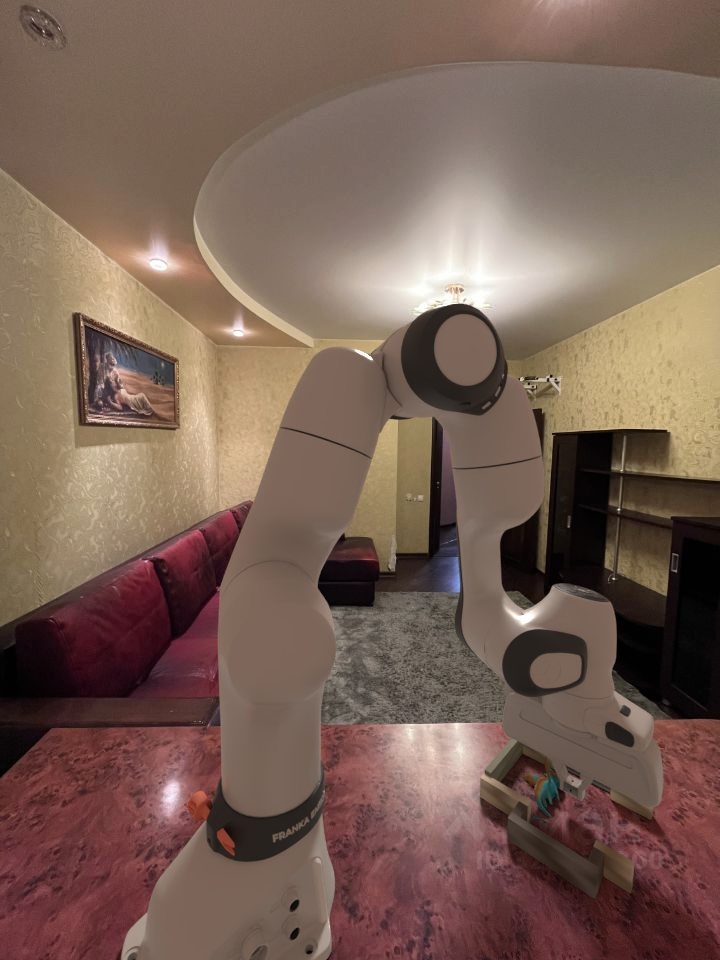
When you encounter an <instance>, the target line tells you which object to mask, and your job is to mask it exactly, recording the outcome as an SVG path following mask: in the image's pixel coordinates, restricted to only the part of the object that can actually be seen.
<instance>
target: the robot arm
mask: <svg viewBox="0 0 720 960" xmlns="http://www.w3.org/2000/svg"><path fill="white" fill-rule="evenodd" d="M508 373H509V365H508V361H507V360H506V357H505V351H504V347H503V343H502V341H501V338H500V335H499V334H498V331H497V330H496V327H495V326H494V325H493V323H492V321H491V320H490V319H489V318H488V316H487V315H486V314H484V313H483V311H481V310H480V309H478V308H477V307H475V306H473V305H470V304H468V303H460V302H459V303H458V302H457V303H456V302H455V303H452V302H451V303H447V304H443V305H439V306H435V307H432V308H430V309H427V310H426V311H424V312H422V313H421V314H419V315H418V316H417V317H416V318H415V319H413V320H412V321H410V322H408V323H407V324H406V325H404V326H402V327H400V328H398V329H396V330H395V331H394V332H393V333H391V334H390V335H389V336H388V337H387V338H386V339H385V340H384V341H383V342H382V343H381V344H380V345H379V346H378V347H376V348H375V349H374V350H373V351H372V352H371V353H365V352H363V351H361V350H359V349H356V348H352V347H349V346H331V347H326V348H324V349H322V350H320V351H319V352H317V353H316V354H315V355H313V357H312V358H311V359H310V361H309V363H308V364H307V366H306V368H305V369H304V371H303V373H302V374H301V376H300V378H299V381H297V383H296V386H295V388H294V390H293V393H292V394H291V397H290V399H289V401H288V403H287V406H286V407H285V410H284V413H283V415H282V418H281V422H280V424H279V427H278V429H277V432H276V436H275V439H274V442H273V444H272V447H271V450H270V452H269V456H268V459H267V462H266V465H265V466H264V471H263V473H262V477H261V479H260V482H259V486H258V489H257V491H256V493H255V497H254V499H253V502H252V505H251V507H250V509H249V511H248V513H247V516H246V519H245V521H244V523H243V526H242V527H241V531H240V534H239V535H238V539H237V541H236V543H235V546H234V548H233V551H232V553H231V555H230V559H229V561H228V564H227V567H226V569H225V571H224V574H223V578H222V581H221V583H220V586H219V587H220V588H219V602H218V603H219V605H218V621H217V622H218V624H217V625H218V626H217V657H218V658H217V661H218V662H217V664H218V687H219V688H218V690H219V691H218V692H219V693H218V694H219V717H220V759H221V761H220V765H221V766H220V768H221V771H220V772H221V775H220V777H219V781H218V783H217V786H216V787H215V792H214V795H213V798H212V799H211V800H212V801H211V800H210V799H209V798H208V797H207V794H206V793H205V792H204V791H203V790H199V791H196V792H195V793H193V794H192V795H191V797H190V798H189V800H188V801H187V805H186V806H187V807H186V808H187V811H188V812H189V813H190V814H191V815H193V819H194V820H195V821H196V822H200V821H203V820H204V822H203V823H202V824H201V825H200V826H199V827H198V829H197V830H196V831H195V832H194V834H193V836H192V837H191V838H190V839H189V840H188V841H187V843H186V845H185V846H184V847H183V848H182V849H181V851H180V852H179V853H178V855H176V857H175V858H174V860H172V862H171V863H170V865H169V866H168V867H167V868H166V869H165V870H164V872H163V873H162V874H161V875H160V877H159V878H158V879H157V881H156V883H155V885H154V887H153V889H152V893H151V896H150V900H149V904H148V907H147V912H146V913H145V914H143V916H142V917H140V918H139V919H138V920H137V921H136V922H135V923H134V924H133V925H132V926H131V927H130V928H129V930H128V931H127V933H126V936H125V937H124V942H123V946H122V950H121V954H120V960H327V959H328V958H329V956H330V955H331V953H332V945H333V944H332V943H333V941H332V931H331V923H330V922H331V920H330V917H331V911H332V907H333V904H334V899H335V890H336V880H335V878H336V877H335V871H334V867H333V864H332V860H331V858H330V855H329V852H328V848H327V847H328V846H327V842H326V836H325V834H326V833H325V828H324V819H323V812H324V807H325V803H326V802H325V801H326V799H325V798H326V791H325V788H326V787H325V784H326V783H325V767H324V764H323V760H322V758H321V757H322V754H321V753H322V749H321V748H322V744H321V743H322V739H321V738H322V735H321V734H322V732H321V731H322V727H321V726H322V725H321V724H322V722H321V721H322V717H321V716H322V705H323V704H322V703H323V697H324V691H325V687H326V681H327V679H328V678H329V676H330V674H331V673H332V669H333V667H334V665H335V662H336V661H335V660H336V657H337V638H336V630H335V625H334V619H333V615H332V611H331V608H330V605H329V603H328V601H327V600H326V599H325V597H324V595H323V594H322V593H321V591H320V589H319V588H318V586H319V585H318V584H319V578H320V575H321V573H322V572H321V571H322V569H323V567H324V565H325V564H326V562H327V560H328V558H329V556H330V554H331V553H332V551H333V549H334V547H335V546H336V544H337V542H338V541H339V539H340V538H341V536H342V535H344V533H346V532H347V530H348V529H349V528H350V526H351V524H352V522H353V519H354V516H355V513H356V510H357V507H358V504H359V502H360V501H359V500H360V498H361V494H362V491H363V489H364V485H365V482H366V479H367V477H368V474H369V473H368V472H369V470H370V467H371V464H372V462H373V457H374V454H375V451H376V448H377V444H378V441H379V437H380V434H381V433H382V432H383V429H384V427H385V425H386V424H387V422H388V421H389V420H393V421H394V420H395V421H396V420H397V421H400V420H401V421H402V420H411V419H414V418H420V419H421V418H422V419H423V418H426V419H427V418H434V419H435V420H436V421H437V422H438V423H439V424H440V426H441V427H442V429H443V431H444V433H445V436H446V438H447V440H448V445H449V454H450V456H449V457H450V463H451V470H452V475H453V476H452V477H453V483H454V491H455V492H454V493H455V499H456V500H455V501H456V512H455V513H456V516H455V518H456V520H455V531H456V547H457V561H458V573H459V595H458V601H457V606H456V609H455V614H454V629H455V634H456V636H457V638H458V640H459V641H460V643H461V644H462V645H463V646H464V647H465V648H466V649H467V650H468V651H470V652H471V653H472V654H474V655H475V656H477V657H478V658H479V659H480V660H481V661H482V662H483V664H485V666H487V667H488V669H490V670H491V671H492V672H493V673H494V674H495V675H496V676H497V677H498V678H499V679H501V680H502V682H503V683H504V685H503V686H504V687H503V692H504V693H503V695H504V697H505V699H506V700H505V702H504V706H503V711H502V718H501V728H502V729H503V732H504V734H505V735H506V736H507V737H509V738H510V739H511V738H512V739H514V740H516V741H518V742H520V743H522V744H524V745H526V746H528V747H530V748H532V749H534V750H536V751H538V752H540V753H542V754H544V755H546V756H548V757H550V758H552V765H553V767H554V769H553V770H555V772H556V774H557V775H558V777H559V779H560V789H559V790H561V791H563V792H564V793H566V794H567V795H570V796H572V797H573V798H576V799H577V800H579V801H581V802H583V800H584V798H585V796H586V789H587V788H589V786H591V785H592V784H591V783H592V781H593V779H594V780H596V781H598V782H600V783H602V784H604V785H606V786H607V787H609V788H611V789H613V790H615V791H617V792H619V793H621V794H623V795H625V796H627V797H629V798H631V799H633V800H635V801H637V802H639V803H641V804H643V805H645V806H647V807H649V808H653V809H654V808H655V807H658V806H660V804H661V800H662V798H663V791H664V769H663V759H662V753H661V749H660V747H659V744H658V742H657V741H656V739H655V738H654V737H653V735H654V731H655V730H654V729H655V719H654V716H652V715H651V714H650V713H649V712H648V711H647V710H645V709H644V708H642V707H640V706H638V705H637V704H636V703H633V702H632V701H630V700H629V699H628V698H626V697H625V696H623V695H622V694H620V693H619V692H617V691H616V690H615V683H614V679H613V673H612V671H613V667H614V665H615V663H616V659H617V645H618V644H617V640H618V638H617V635H618V633H617V620H616V619H617V618H616V615H615V614H616V613H615V610H614V607H613V604H612V602H611V601H610V600H609V599H608V598H607V597H606V596H604V595H603V594H600V593H598V592H596V591H594V590H592V589H589V588H586V587H583V586H580V585H575V584H571V583H555V584H553V585H552V586H551V589H550V591H549V592H548V594H547V595H546V596H545V597H544V598H543V599H541V601H539V602H538V603H536V604H535V605H533V606H531V607H528V608H527V609H524V608H522V607H521V606H519V605H517V604H516V603H515V602H514V601H513V600H512V599H511V598H510V596H508V594H507V593H506V591H505V589H504V587H503V584H502V567H501V566H502V564H501V539H502V537H503V534H504V533H505V532H506V531H507V530H510V529H512V528H513V529H514V528H515V527H518V526H520V525H522V524H524V523H526V522H527V521H528V520H529V519H531V517H532V516H534V514H535V513H536V512H538V510H539V509H540V507H541V505H542V504H543V502H544V496H545V491H546V490H545V488H546V487H545V486H546V478H545V477H546V475H545V467H544V459H543V453H542V446H541V439H540V436H539V435H540V434H539V430H538V429H539V428H538V425H537V421H536V417H535V414H534V411H533V407H532V405H531V404H532V403H531V401H530V398H529V396H528V393H527V391H526V390H527V389H526V388H525V386H524V384H523V383H522V381H520V379H518V378H517V377H516V376H514V375H512V374H508ZM565 765H566V766H568V767H570V768H572V769H574V770H576V771H578V772H580V777H579V778H580V779H578V778H576V777H574V776H573V775H570V774H569V773H570V772H568V771H567V769H566V766H565ZM309 951H311V953H309V954H308V953H307V952H309Z"/></svg>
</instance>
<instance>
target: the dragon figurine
mask: <svg viewBox="0 0 720 960" xmlns="http://www.w3.org/2000/svg"><path fill="white" fill-rule="evenodd" d="M543 765H544V769H545V771H546V773H545V772H544V773H543V775H544V776H540V778H539V775H538V774H537V773H527V774H525V775H522V776H521V777H522V778H523V780H524V782H528V786H529V787H534V789H533V793H534V799H535V801H536V804H537V806H538V808H539V809H540V810H541V811H542V812H543V814H545V815H546V816H547V817H548V818H550V819H552V818H553V816H552V815H551V814H550V813H549V812H548V811H547V810H546V809H548V804H547V800H548V803H549V804H550V805H553V802H554V801H555V800H553V799H554V798H555V797H556V800H557V801H560V796H559V790H560V779H559V777H558V775H557V773H556V771H555V772H554V771H553V769H552V768H550V766H549V764H548V762H547V757H545V761H544V764H543ZM535 819H538V820H540V821H542V822H543V823H546V824H549V822H548V821H546V820H545V819H543V818H542V817H540V816H537V815H535V816H532V817H531V821H530V823H532V822H533V821H534V820H535Z"/></svg>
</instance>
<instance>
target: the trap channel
mask: <svg viewBox="0 0 720 960" xmlns="http://www.w3.org/2000/svg"><path fill="white" fill-rule="evenodd" d="M522 755H524V756H527V757H529V758H531V759H533V760H534V761H536V762H539V763H541V764H543V765H544V761H545V757H547V762H548V764H549V766H550V768H551V770H555V769H554V767H553V765H552V758H550V757H548V756H546V755H544V754H542V753H540V752H538V751H536V750H534V749H532V748H530V747H528V746H526V745H524V744H522V743H520V742H518V741H516V740H514V739H512V738H510V739H509V740H508V741H507V743H506V744H505V745H504V746H503V747H502V748H501V749H500V751H499V752H498V753H497V754H496V755H495V757H494V758H493V759H492V760H491V761H490V762H489V764H488V765H487V766H486V767H485V768H484V772H483V773H482V775H481V776H480V781H479V782H480V783H479V798H481V799H483V800H484V801H486V802H487V803H489V804H491V805H492V806H494V807H495V808H497V809H498V810H500V811H501V812H503V813H505V814H506V815H508V817H507V826H506V827H507V828H506V830H507V832H506V834H507V835H506V839H507V840H508V841H509V842H511V844H514V845H515V846H516V847H518V848H520V849H521V850H522V851H523V852H525V853H526V854H528V855H529V856H531V857H532V858H534V859H535V860H537V861H538V860H539V861H538V862H540V863H541V862H542V863H541V864H543V865H544V864H545V865H547V866H548V867H549V868H548V867H547V866H546V867H547V868H548V869H549V870H551V871H553V872H554V873H555V874H557V875H559V876H560V877H562V878H563V879H564V880H566V881H567V882H569V883H570V884H572V885H573V886H575V887H576V888H577V889H579V890H580V891H582V892H583V893H585V894H586V895H588V897H590V898H592V899H594V900H596V898H597V895H598V892H599V889H600V887H601V884H602V881H603V878H605V879H607V880H608V881H610V882H611V883H613V884H615V885H616V886H617V887H619V888H621V889H623V891H625V892H627V893H629V894H632V891H633V887H634V871H635V870H634V869H635V861H633V860H631V859H629V858H628V857H626V856H624V855H623V854H621V853H619V852H618V851H616V850H614V849H612V848H611V847H609V846H607V845H606V844H604V843H603V842H601V841H599V840H597V839H595V841H594V843H593V846H592V849H591V851H590V854H589V856H588V858H585V857H583V856H581V855H580V854H578V853H577V852H575V851H574V850H572V849H571V848H569V847H568V846H566V845H565V844H563V843H561V842H559V841H558V840H557V839H555V838H553V837H552V836H550V835H549V834H547V833H546V832H544V831H542V830H541V829H539V828H537V827H536V826H535V825H533V824H531V820H532V816H531V815H532V814H531V813H532V800H530V799H528V798H527V797H526V796H523V795H522V794H520V793H519V792H517V791H516V790H514V789H512V788H510V787H508V786H507V785H505V784H504V783H502V781H503V779H505V777H506V776H507V774H508V773H509V772H510V770H511V769H512V768H513V767H514V765H515V764H516V763H517V762H518V760H519V759H520V758H521V756H522ZM565 766H566V765H565ZM550 768H549V769H550ZM566 769H567V771H568V773H570V774H573V775H575V776H576V777H578V778H580V772H578V771H576V770H574V769H572V768H570V767H568V766H566ZM591 785H593V786H596V787H597V788H599V789H600V790H603V791H606V792H607V793H609V794H610V796H609V799H610V800H612V801H614V802H615V803H616V804H618V805H620V806H623V807H624V808H627V809H628V810H630V811H632V812H635V813H636V814H638V815H640V816H642V817H644V818H646V819H647V820H649V821H652V819H653V816H654V815H653V814H654V807H653V808H649V807H647V806H645V805H643V804H641V803H639V802H637V801H635V800H633V799H631V798H629V797H627V796H625V795H623V794H621V793H619V792H617V791H615V790H613V789H611V788H609V787H607V786H606V785H604V784H602V783H600V782H598V781H596V780H594V779H593V781H592V783H591ZM545 865H544V866H545Z"/></svg>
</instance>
